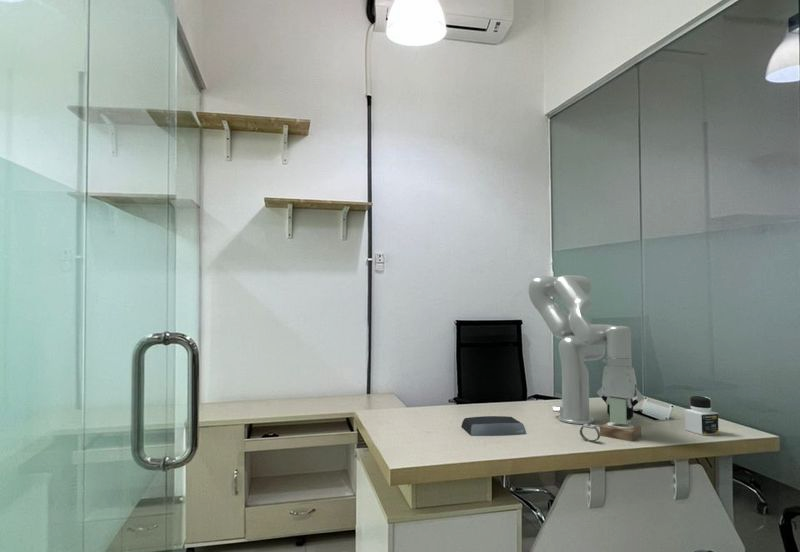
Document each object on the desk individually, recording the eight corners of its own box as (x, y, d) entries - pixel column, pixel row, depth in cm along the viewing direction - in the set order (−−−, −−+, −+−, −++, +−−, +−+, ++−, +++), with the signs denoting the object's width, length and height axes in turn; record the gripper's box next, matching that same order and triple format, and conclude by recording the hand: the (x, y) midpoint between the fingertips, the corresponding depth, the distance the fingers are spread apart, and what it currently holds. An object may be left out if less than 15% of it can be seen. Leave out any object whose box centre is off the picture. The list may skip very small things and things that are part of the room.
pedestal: (600, 435, 157) (599, 425, 158) (610, 429, 165) (610, 419, 165) (632, 441, 151) (632, 430, 151) (641, 435, 158) (641, 424, 158)
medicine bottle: (702, 435, 158) (701, 399, 159) (684, 430, 165) (683, 395, 166) (719, 434, 160) (718, 398, 161) (700, 428, 167) (699, 394, 168)
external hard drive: (527, 436, 158) (527, 423, 158) (471, 438, 155) (471, 425, 155) (512, 426, 170) (512, 414, 171) (460, 427, 168) (460, 416, 168)
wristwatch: (601, 442, 149) (601, 426, 150) (597, 444, 147) (597, 427, 148) (582, 438, 154) (582, 422, 154) (578, 439, 152) (578, 424, 152)
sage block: (609, 421, 158) (609, 397, 158) (614, 419, 162) (614, 395, 162) (625, 424, 154) (625, 399, 155) (630, 421, 158) (630, 397, 159)
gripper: (589, 361, 162) (590, 415, 161) (643, 366, 151) (644, 424, 150) (597, 359, 168) (598, 412, 167) (650, 364, 156) (651, 420, 155)
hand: (620, 417), depth 158 cm, fingers closed on sage block, 5 cm apart
